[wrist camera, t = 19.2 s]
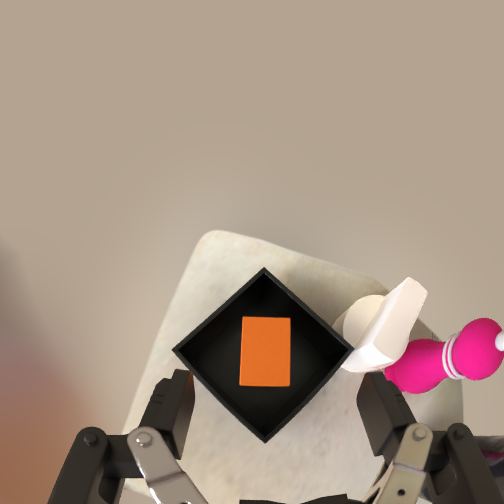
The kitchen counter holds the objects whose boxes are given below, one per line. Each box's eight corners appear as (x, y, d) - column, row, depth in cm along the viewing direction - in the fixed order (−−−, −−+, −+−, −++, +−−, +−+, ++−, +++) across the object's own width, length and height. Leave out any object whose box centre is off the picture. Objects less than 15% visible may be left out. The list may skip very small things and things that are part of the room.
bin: (331, 358, 33) (355, 348, 26) (261, 430, 29) (265, 443, 21) (260, 293, 37) (264, 266, 30) (188, 359, 33) (171, 349, 25)
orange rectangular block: (279, 337, 34) (290, 317, 25) (278, 386, 31) (290, 386, 22) (244, 336, 34) (242, 316, 25) (242, 386, 31) (239, 385, 22)
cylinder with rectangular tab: (351, 297, 37) (387, 258, 27) (398, 332, 34) (447, 306, 24) (315, 347, 34) (345, 327, 23) (366, 385, 31) (414, 378, 21)
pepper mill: (403, 335, 34) (503, 282, 16) (430, 369, 32) (534, 335, 14) (372, 369, 32) (476, 339, 14) (400, 404, 29) (509, 396, 12)
